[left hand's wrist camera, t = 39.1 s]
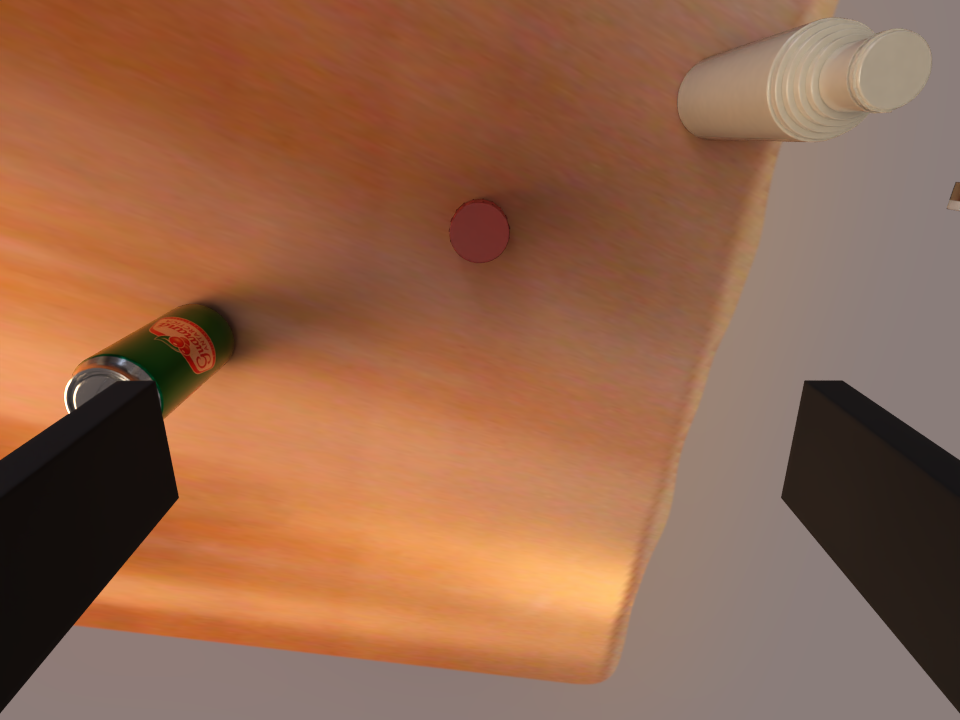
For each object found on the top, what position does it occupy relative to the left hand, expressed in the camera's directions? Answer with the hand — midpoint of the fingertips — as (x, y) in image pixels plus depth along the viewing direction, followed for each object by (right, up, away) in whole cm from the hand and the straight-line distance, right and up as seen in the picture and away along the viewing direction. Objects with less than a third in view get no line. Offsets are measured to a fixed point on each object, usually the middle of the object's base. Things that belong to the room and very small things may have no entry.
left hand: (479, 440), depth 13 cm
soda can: (-20, +3, +31) cm, 37 cm away
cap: (0, +10, +27) cm, 29 cm away
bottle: (+15, +18, +26) cm, 35 cm away
